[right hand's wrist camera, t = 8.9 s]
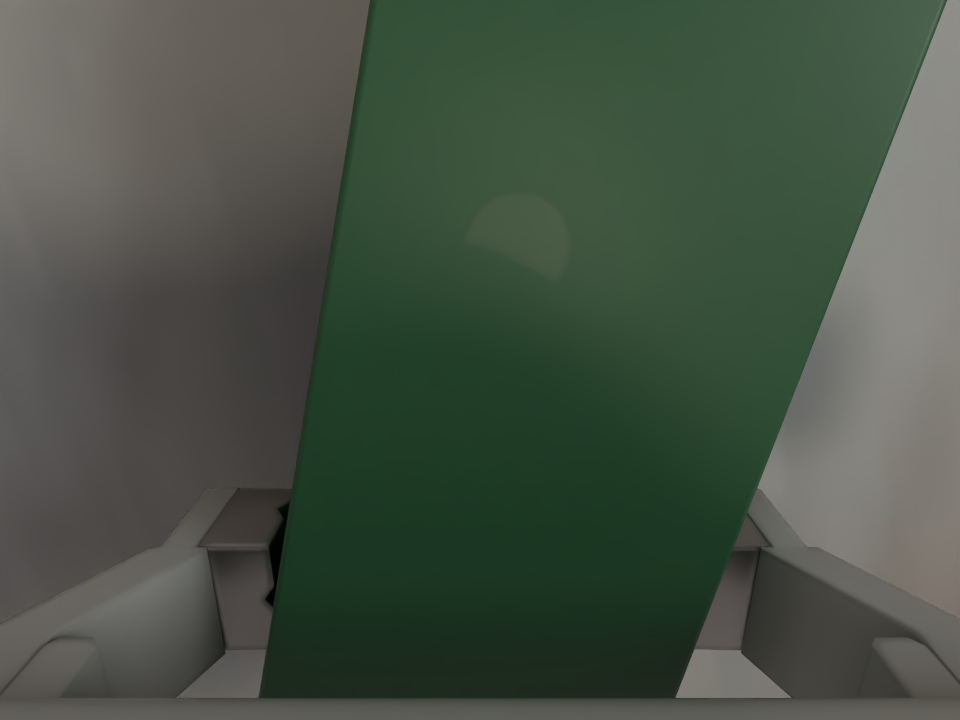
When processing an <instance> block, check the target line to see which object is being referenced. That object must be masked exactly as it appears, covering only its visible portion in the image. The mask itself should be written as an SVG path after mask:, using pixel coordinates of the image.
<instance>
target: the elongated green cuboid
mask: <svg viewBox="0 0 960 720" xmlns="http://www.w3.org/2000/svg"><path fill="white" fill-rule="evenodd" d="M946 2H947V0H370V5H369V11H368V17H367V24H366V30H365V36H364V42H363V49H362V55H361V61H360V67H359V74H358V80H357V86H356V92H355V99H354V105H353V111H352V118H351V124H350V130H349V136H348V143H347V149H346V155H345V161H344V168H343V174H342V180H341V186H340V193H339V199H338V205H337V211H336V218H335V224H334V230H333V236H332V243H331V249H330V255H329V261H328V268H327V274H326V280H325V286H324V293H323V299H322V305H321V311H320V318H319V324H318V330H317V336H316V343H315V349H314V355H313V361H312V368H311V374H310V380H309V387H308V393H307V399H306V405H305V412H304V418H303V424H302V430H301V437H300V443H299V449H298V455H297V462H296V468H295V474H294V480H293V487H292V493H291V499H290V505H289V512H288V518H287V524H286V530H285V537H284V543H283V549H282V555H281V562H280V568H279V574H278V580H277V587H276V593H275V599H274V605H273V612H272V618H271V624H270V631H269V637H268V643H267V649H266V656H265V662H264V668H263V674H262V681H261V687H260V693H259V698H675V697H676V694H677V692H678V689H679V687H680V684H681V682H682V679H683V676H684V674H685V671H686V669H687V666H688V664H689V661H690V659H691V656H692V653H693V651H694V648H695V646H696V643H697V641H698V638H699V635H700V633H701V630H702V628H703V625H704V623H705V620H706V617H707V615H708V612H709V610H710V607H711V605H712V602H713V600H714V597H715V594H716V592H717V589H718V587H719V584H720V582H721V579H722V576H723V574H724V571H725V569H726V566H727V564H728V561H729V558H730V556H731V553H732V551H733V548H734V546H735V543H736V540H737V538H738V535H739V533H740V530H741V528H742V525H743V523H744V520H745V517H746V515H747V512H748V510H749V507H750V505H751V502H752V499H753V497H754V494H755V492H756V489H757V487H758V484H759V481H760V479H761V476H762V474H763V471H764V469H765V466H766V463H767V461H768V458H769V456H770V453H771V451H772V448H773V446H774V443H775V440H776V438H777V435H778V433H779V430H780V428H781V425H782V422H783V420H784V417H785V415H786V412H787V410H788V407H789V404H790V402H791V399H792V397H793V394H794V392H795V389H796V387H797V384H798V381H799V379H800V376H801V374H802V371H803V369H804V366H805V363H806V361H807V358H808V356H809V353H810V351H811V348H812V345H813V343H814V340H815V338H816V335H817V333H818V330H819V327H820V325H821V322H822V320H823V317H824V315H825V312H826V310H827V307H828V304H829V302H830V299H831V297H832V294H833V292H834V289H835V286H836V284H837V281H838V279H839V276H840V274H841V271H842V268H843V266H844V263H845V261H846V258H847V256H848V253H849V251H850V248H851V245H852V243H853V240H854V238H855V235H856V233H857V230H858V227H859V225H860V222H861V220H862V217H863V215H864V212H865V209H866V207H867V204H868V202H869V199H870V197H871V194H872V191H873V189H874V186H875V184H876V181H877V179H878V176H879V174H880V171H881V168H882V166H883V163H884V161H885V158H886V156H887V153H888V150H889V148H890V145H891V143H892V140H893V138H894V135H895V132H896V130H897V127H898V125H899V122H900V120H901V117H902V115H903V112H904V109H905V107H906V104H907V102H908V99H909V97H910V94H911V91H912V89H913V86H914V84H915V81H916V79H917V76H918V73H919V71H920V68H921V66H922V63H923V61H924V58H925V55H926V53H927V50H928V48H929V45H930V43H931V40H932V38H933V35H934V32H935V30H936V27H937V25H938V22H939V20H940V17H941V14H942V12H943V9H944V7H945V4H946Z"/></svg>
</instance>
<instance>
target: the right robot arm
mask: <svg viewBox="0 0 960 720" xmlns="http://www.w3.org/2000/svg"><path fill="white" fill-rule="evenodd" d="M291 493H292V489H269V488H241V489H240V488H210V489H206V490H205V491H204V492H203V493H202V494H201V496H200V497H199V498H198V500H197V501H196V502H195V503H194V505H193V506H192V507H191V508H190V510H189V511H188V512H187V514H186V515H185V516H184V517H183V519H182V520H181V521H180V522H179V524H178V525H177V526H176V528H175V529H174V530H173V531H172V533H171V534H170V535H169V536H168V538H167V539H166V540H165V542H164V543H163V544H162V545H161V547H150V548H148V549H146V550H144V551H142V552H140V553H138V554H136V555H134V556H132V557H130V558H128V559H126V560H124V561H122V562H120V563H118V564H116V565H114V566H112V567H110V568H108V569H106V570H104V571H102V572H100V573H98V574H97V575H95V576H93V577H91V578H89V579H87V580H85V581H83V582H81V583H79V584H77V585H75V586H73V587H71V588H69V589H67V590H65V591H63V592H61V593H59V594H57V595H55V596H53V597H51V598H49V599H47V600H45V601H43V602H41V603H39V604H37V605H35V606H33V607H31V608H30V609H28V610H26V611H24V612H22V613H20V614H18V615H16V616H14V617H12V618H10V619H8V620H6V621H4V622H2V623H0V720H960V619H959V618H957V617H955V616H953V615H951V614H949V613H947V612H945V611H943V610H941V609H939V608H937V607H935V606H933V605H931V604H929V603H927V602H925V601H923V600H921V599H919V598H917V597H915V596H913V595H911V594H909V593H907V592H905V591H903V590H901V589H899V588H897V587H895V586H893V585H891V584H889V583H887V582H885V581H883V580H881V579H879V578H877V577H875V576H873V575H871V574H869V573H867V572H865V571H863V570H861V569H859V568H857V567H855V566H853V565H851V564H849V563H847V562H845V561H843V560H841V559H839V558H838V557H836V556H834V555H832V554H830V553H828V552H826V551H824V550H822V549H820V548H818V547H807V546H806V545H805V544H804V543H803V541H802V540H801V539H800V538H799V536H798V535H797V534H796V533H795V531H794V530H793V529H792V528H791V526H790V525H789V524H788V523H787V521H786V520H785V519H784V518H783V517H782V515H781V514H780V513H779V512H778V510H777V509H776V508H775V507H774V505H773V504H772V503H771V502H770V500H769V499H768V498H767V497H766V495H765V494H764V493H763V492H762V491H761V490H760V489H756V492H755V494H754V497H753V499H752V502H751V505H750V507H749V510H748V512H747V515H746V517H745V520H744V523H743V525H742V528H741V530H740V533H739V535H738V538H737V540H736V543H735V546H734V548H733V551H732V553H731V556H730V558H729V561H728V564H727V566H726V569H725V571H724V574H723V576H722V579H721V582H720V584H719V587H718V589H717V592H716V594H715V597H714V600H713V602H712V605H711V607H710V610H709V612H708V615H707V617H706V620H705V623H704V625H703V628H702V630H701V633H700V635H699V638H698V641H697V643H696V646H695V648H694V649H714V650H742V651H741V653H742V654H743V655H744V656H745V657H746V658H748V659H749V660H750V661H751V662H752V663H753V664H754V665H755V666H757V667H758V668H759V669H760V670H761V671H762V672H763V673H764V674H766V675H767V676H768V677H769V678H770V679H771V680H772V681H773V682H775V683H776V684H777V685H778V686H779V687H780V688H781V689H783V690H784V691H785V692H786V693H787V694H788V695H789V696H790V697H792V698H176V697H177V696H178V695H179V694H181V693H182V692H183V691H184V690H185V689H186V688H187V687H188V686H190V685H191V684H192V683H193V682H194V681H195V680H196V679H197V678H198V677H200V676H201V675H202V674H203V673H204V672H205V671H206V670H207V669H209V668H210V667H211V666H212V665H213V664H214V663H215V662H216V661H218V660H219V659H220V658H221V657H222V656H223V655H224V654H225V650H252V649H267V643H268V637H269V631H270V624H271V618H272V612H273V605H274V599H275V593H276V587H277V580H278V574H279V568H280V562H281V555H282V549H283V543H284V537H285V530H286V524H287V518H288V512H289V505H290V499H291Z"/></svg>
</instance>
